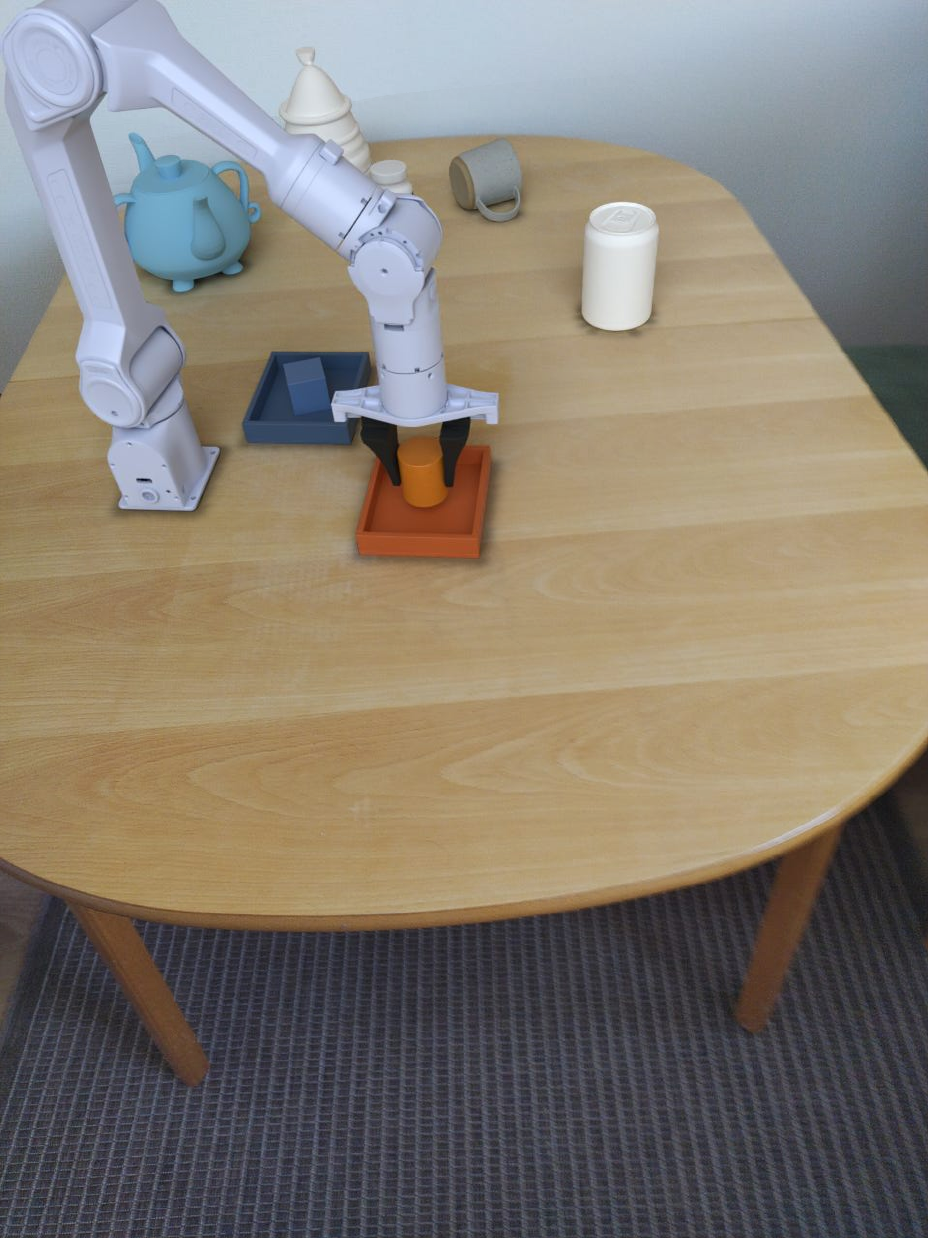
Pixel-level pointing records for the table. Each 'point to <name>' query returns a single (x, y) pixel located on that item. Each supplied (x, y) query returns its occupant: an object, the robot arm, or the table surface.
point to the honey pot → (324, 112)
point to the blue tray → (273, 404)
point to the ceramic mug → (487, 178)
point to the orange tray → (427, 513)
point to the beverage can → (619, 265)
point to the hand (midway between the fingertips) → (424, 479)
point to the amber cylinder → (422, 471)
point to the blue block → (307, 386)
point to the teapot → (185, 217)
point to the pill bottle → (391, 176)
